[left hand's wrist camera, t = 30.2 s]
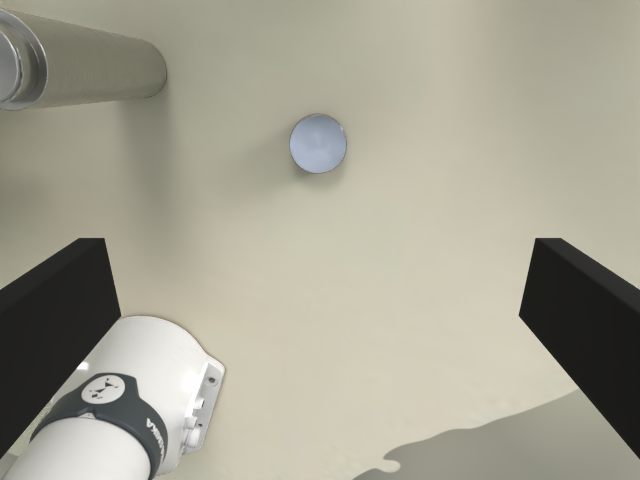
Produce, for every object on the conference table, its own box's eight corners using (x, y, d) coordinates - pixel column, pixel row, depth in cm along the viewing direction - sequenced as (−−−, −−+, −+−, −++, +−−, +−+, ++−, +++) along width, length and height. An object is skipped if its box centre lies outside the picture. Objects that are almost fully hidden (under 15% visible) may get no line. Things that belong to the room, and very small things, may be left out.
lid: (332, 104, 39) (333, 105, 37) (353, 156, 41) (355, 160, 39) (281, 127, 40) (279, 129, 38) (304, 178, 42) (303, 182, 40)
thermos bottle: (121, 100, 39) (-50, 118, 21) (104, 42, 37) (-100, 7, 19) (172, 94, 39) (44, 106, 21) (158, 35, 37) (2, -8, 19)
